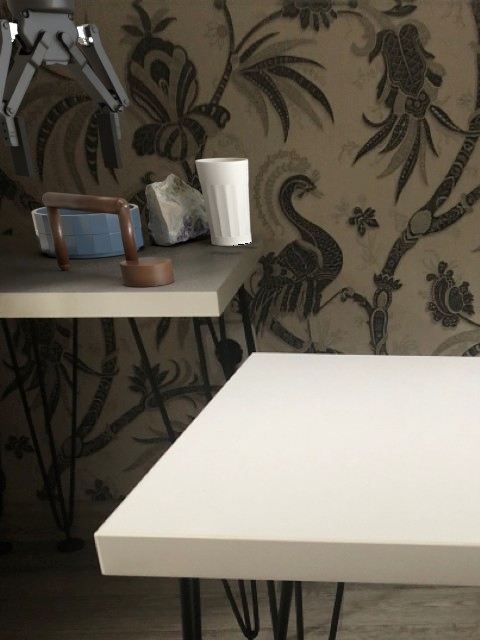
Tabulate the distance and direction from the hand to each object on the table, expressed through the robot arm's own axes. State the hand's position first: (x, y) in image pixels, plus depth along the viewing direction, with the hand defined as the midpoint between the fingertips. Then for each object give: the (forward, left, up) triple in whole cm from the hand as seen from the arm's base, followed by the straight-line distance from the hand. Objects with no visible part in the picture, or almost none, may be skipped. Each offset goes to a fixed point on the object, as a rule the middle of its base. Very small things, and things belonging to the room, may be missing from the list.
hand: (71, 172), depth 118 cm
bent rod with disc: (+3, -3, -13) cm, 13 cm away
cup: (+19, +22, -13) cm, 32 cm away
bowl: (-2, +20, -13) cm, 24 cm away
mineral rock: (+12, +26, -13) cm, 32 cm away
